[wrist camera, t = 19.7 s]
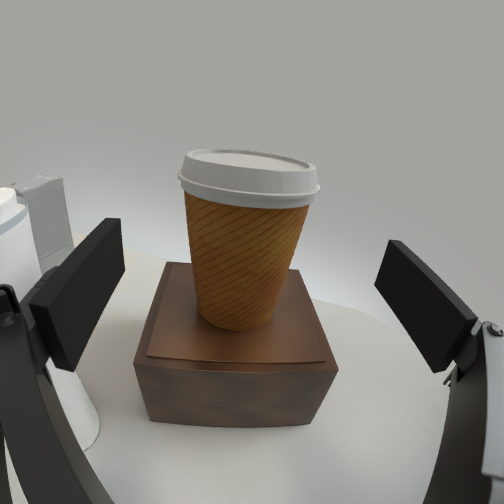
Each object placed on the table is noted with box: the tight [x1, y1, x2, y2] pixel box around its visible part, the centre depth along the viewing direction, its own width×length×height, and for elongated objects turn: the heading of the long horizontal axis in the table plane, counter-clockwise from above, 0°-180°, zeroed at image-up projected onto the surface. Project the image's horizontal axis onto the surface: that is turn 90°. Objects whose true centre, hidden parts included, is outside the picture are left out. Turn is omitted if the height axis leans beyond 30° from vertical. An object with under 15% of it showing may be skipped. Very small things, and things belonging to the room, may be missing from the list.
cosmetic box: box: [6, 174, 75, 276], centre depth 30 cm, size 8×7×16 cm
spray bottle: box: [0, 188, 100, 451], centre depth 12 cm, size 7×7×25 cm
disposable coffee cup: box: [177, 149, 320, 331], centre depth 21 cm, size 10×10×12 cm
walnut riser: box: [133, 262, 339, 427], centre depth 25 cm, size 14×14×8 cm
